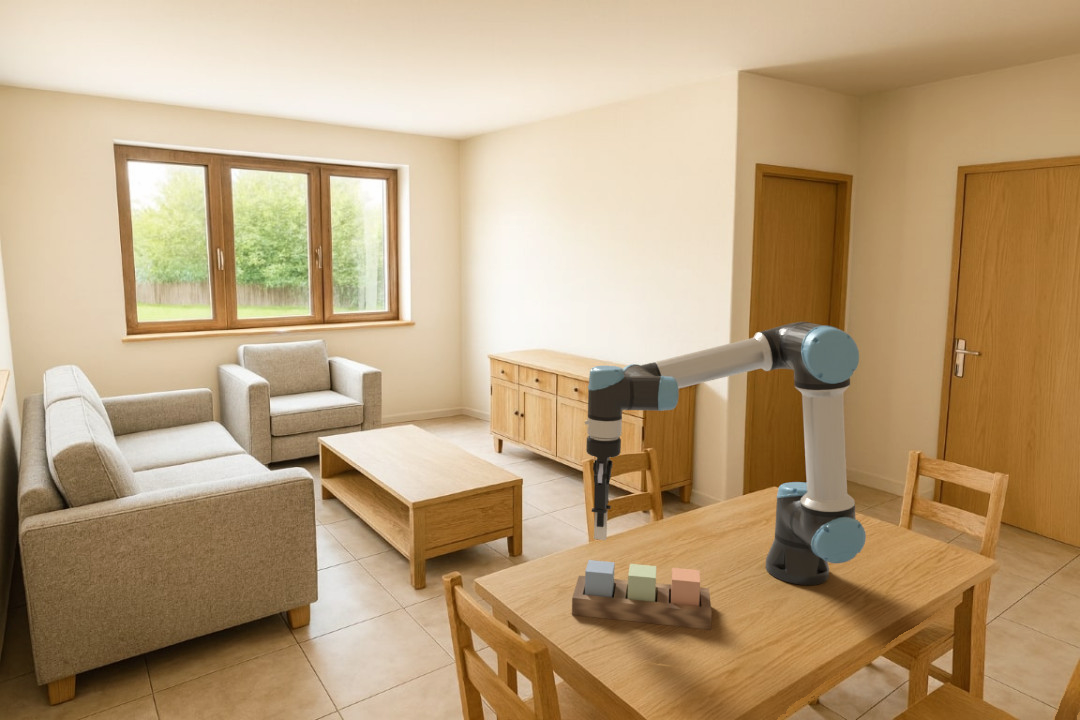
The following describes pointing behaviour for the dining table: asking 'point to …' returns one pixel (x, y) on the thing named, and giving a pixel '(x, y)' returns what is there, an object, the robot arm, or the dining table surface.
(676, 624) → the wooden cube holder tray
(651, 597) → the pastel lime cube
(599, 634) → the dining table surface
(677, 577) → the salmon pink cube
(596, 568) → the pale blue-grey cube
